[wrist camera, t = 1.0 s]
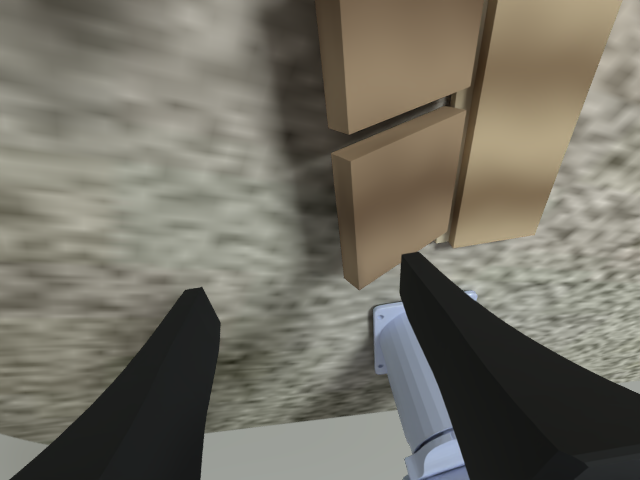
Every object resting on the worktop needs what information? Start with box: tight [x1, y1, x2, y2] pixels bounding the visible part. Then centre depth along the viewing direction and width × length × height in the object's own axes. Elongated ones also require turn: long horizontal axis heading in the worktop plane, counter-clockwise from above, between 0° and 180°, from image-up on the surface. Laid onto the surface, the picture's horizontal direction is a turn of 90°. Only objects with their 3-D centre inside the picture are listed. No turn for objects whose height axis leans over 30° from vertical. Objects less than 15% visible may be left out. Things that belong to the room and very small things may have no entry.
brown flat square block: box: [331, 106, 467, 290], centre depth 16 cm, size 7×7×1 cm
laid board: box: [434, 0, 622, 248], centre depth 15 cm, size 18×6×1 cm, turn 7°
